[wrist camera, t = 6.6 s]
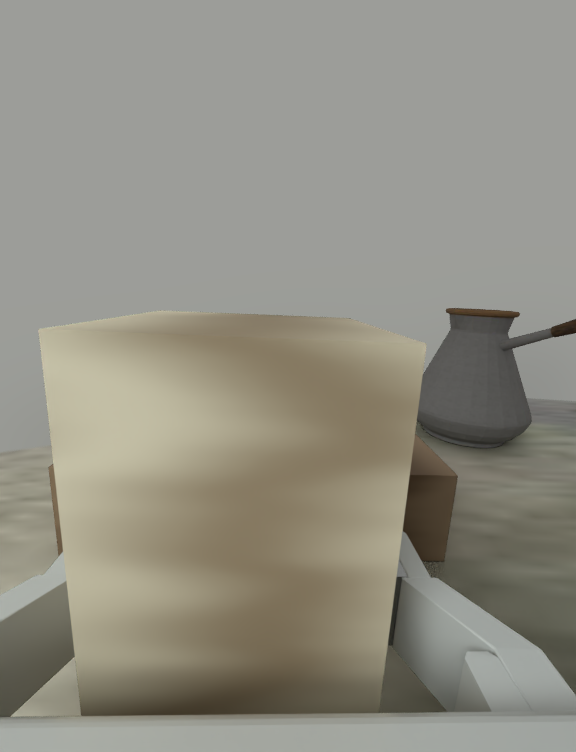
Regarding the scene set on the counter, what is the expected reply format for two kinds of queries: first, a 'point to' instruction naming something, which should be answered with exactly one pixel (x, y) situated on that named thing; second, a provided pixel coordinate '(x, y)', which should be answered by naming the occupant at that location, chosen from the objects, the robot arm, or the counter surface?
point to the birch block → (230, 507)
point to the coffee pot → (478, 380)
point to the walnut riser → (423, 505)
